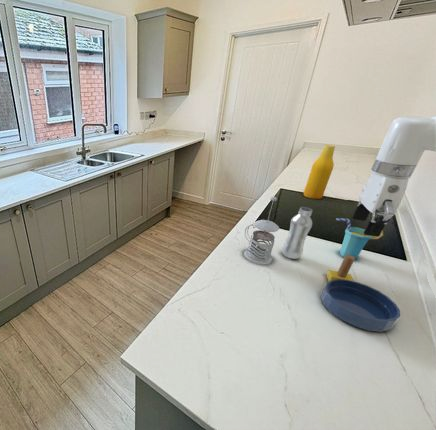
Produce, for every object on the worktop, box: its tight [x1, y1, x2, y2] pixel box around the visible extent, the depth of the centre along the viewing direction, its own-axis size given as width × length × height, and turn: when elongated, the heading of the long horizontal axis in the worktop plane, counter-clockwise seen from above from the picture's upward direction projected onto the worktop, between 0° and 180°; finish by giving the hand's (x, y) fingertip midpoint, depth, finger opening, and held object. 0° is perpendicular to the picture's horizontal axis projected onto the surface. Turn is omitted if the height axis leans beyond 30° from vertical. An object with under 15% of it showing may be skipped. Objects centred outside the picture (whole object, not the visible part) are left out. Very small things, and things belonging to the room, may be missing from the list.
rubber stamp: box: [326, 255, 356, 282], centre depth 85 cm, size 6×4×10 cm, turn 65°
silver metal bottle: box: [281, 206, 313, 260], centre depth 96 cm, size 6×7×20 cm
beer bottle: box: [303, 144, 336, 200], centre depth 145 cm, size 9×9×29 cm
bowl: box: [320, 279, 401, 333], centre depth 76 cm, size 16×16×4 cm
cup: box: [335, 217, 384, 261], centre depth 97 cm, size 14×8×15 cm, turn 63°
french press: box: [243, 196, 280, 265], centre depth 96 cm, size 10×12×25 cm
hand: (364, 226), depth 74 cm, fingers open, 9 cm apart
